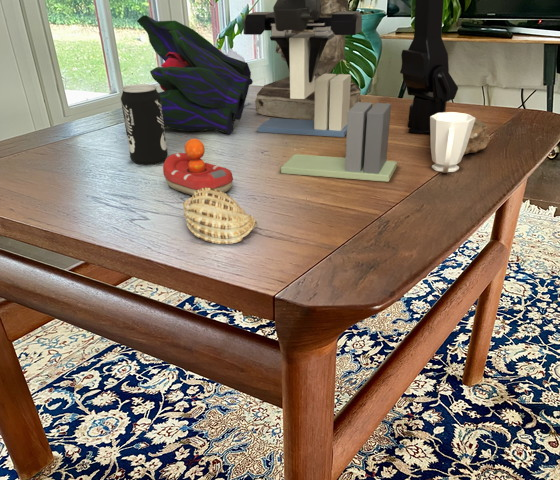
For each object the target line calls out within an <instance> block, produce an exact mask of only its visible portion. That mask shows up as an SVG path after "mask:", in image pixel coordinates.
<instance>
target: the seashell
mask: <svg viewBox="0 0 560 480" xmlns="http://www.w3.org/2000/svg"><path fill="white" fill-rule="evenodd" d="M182 208H183V217H184V219H185V221H186V227H187V228H188V230H189V231H190V232H191V233H192V235H194V236H195V237H197V238H199V239H201V240H202V241H204V242H205V241H206V242H209V243H213V244H219V245H231V244H237V243H239V242H242V241H243V240H244V239H243V238H245V237H246V236H248V235H250V233H251V232H252V231H253V230H254V229H255V228H256V227H257V226H258V222H257V221H256V219H255V217H254V216H252V214H249V213H246V211H245V210H244V208H242V207H241V206H240V205H239V203H238V202H237V201H236V200H235V199H234V198H233V197H232V196H230V194H227V193H226V192H221V191H219V190H216V189H212V188H201V189H199V190H197V191H195V192H194V195H193V196H192V195H191V197H188V199H187V198H186V200H185V201H184V202H182Z"/></svg>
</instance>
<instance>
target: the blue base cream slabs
mask: <svg viewBox="0 0 560 480" xmlns="http://www.w3.org/2000/svg"><path fill="white" fill-rule="evenodd" d="M351 82H352V74H351V73H350V74H349V73H348V74H344V73H338V74H336V73H331V74H323V75H322V76H320V77H319V78H317V79H316V80H315V113H314V120H298V119H291V118H281V117H270V118H269V119H267V120H266V121H264V122H262V123H261V124H260V125H259V126H258V127H257V132H258V133H272V134H288V135H300V136H301V135H302V136H319V137H334V138H335V137H336V138H345V137H346V136H347V118H348V111H349V106H350V85H351Z"/></svg>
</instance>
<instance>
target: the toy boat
mask: <svg viewBox="0 0 560 480" xmlns="http://www.w3.org/2000/svg"><path fill="white" fill-rule="evenodd" d="M205 149H206V148H205V145H204V143H203V141H201V140H200V139H198V138H190V139H188V140H187V141H186V142H185V145H184V152H175V153H173V154H170V155H168V156H167V158H166V159H165V161H164V162H163V165H162V171H163V172H162V173H163V176H164V178H165V181H166V183H167V184H168V186H169V187H170V188H172V190H175V191H176V192H177V191H178V192H180V193H184V194H186V195H190V196H191V197H192V196H193V195H194V192H195V191H197V190H199V189H201V188H212V189H216V190H219V191H221V192H224V193H226V192H228V191H229V190H231V188H232V187H233V182H234V176H233V172H232V170H230V169H229V168H227V167H223V166H219V165H216V164H212V163H209V162H205V161H204V159H202V158H203V156H204V155H205V151H206V150H205Z"/></svg>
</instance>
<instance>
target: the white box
mask: <svg viewBox="0 0 560 480" xmlns="http://www.w3.org/2000/svg"><path fill="white" fill-rule="evenodd" d="M312 36H314V33H299V34H297V35H295V36H293V37H290V38H289V52H290V71H289V77H290V99H305V98H306V97H308V96H309V95H310V94H311V93H313V92H314V91H315V75H314V78H313V81H312V82H309V59H310V40H309V38H310V37H312Z"/></svg>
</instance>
